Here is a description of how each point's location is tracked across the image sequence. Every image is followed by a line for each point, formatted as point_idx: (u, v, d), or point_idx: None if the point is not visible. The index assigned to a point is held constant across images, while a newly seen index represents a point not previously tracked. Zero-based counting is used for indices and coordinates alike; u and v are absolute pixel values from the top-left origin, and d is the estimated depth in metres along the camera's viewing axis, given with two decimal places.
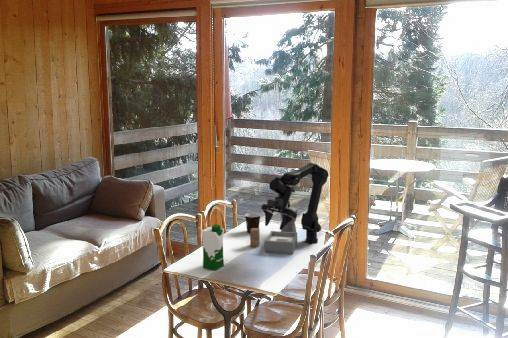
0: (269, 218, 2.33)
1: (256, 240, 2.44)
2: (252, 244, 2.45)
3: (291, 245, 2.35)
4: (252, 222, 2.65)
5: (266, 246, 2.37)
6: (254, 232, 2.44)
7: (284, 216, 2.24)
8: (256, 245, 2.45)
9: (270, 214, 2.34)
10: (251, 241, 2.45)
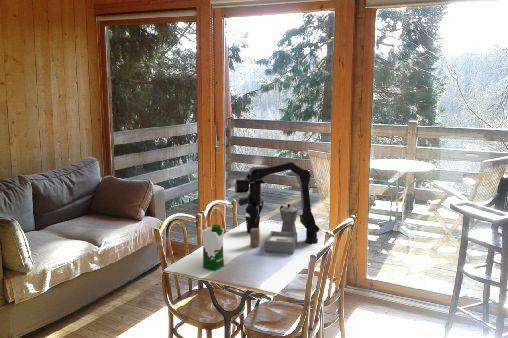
0: None
1: (256, 240, 2.44)
2: (252, 244, 2.45)
3: (291, 245, 2.35)
4: None
5: (266, 246, 2.37)
6: (254, 232, 2.44)
7: None
8: (256, 245, 2.45)
9: None
10: (251, 241, 2.45)
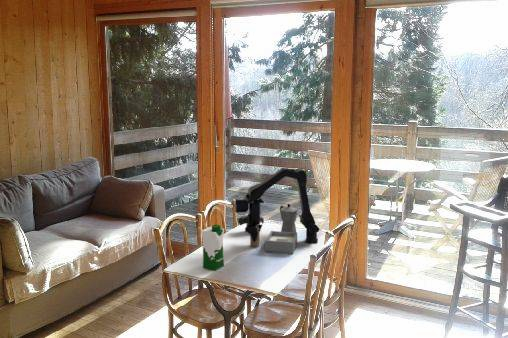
0: None
1: (256, 240, 2.44)
2: (252, 244, 2.45)
3: (291, 245, 2.35)
4: None
5: (266, 246, 2.37)
6: None
7: None
8: (256, 245, 2.45)
9: None
10: (251, 241, 2.45)
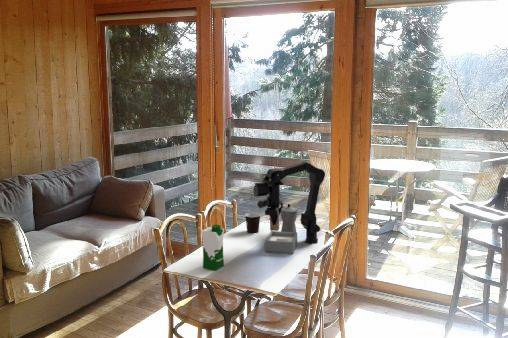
0: None
1: (276, 223, 2.41)
2: (272, 227, 2.42)
3: (291, 245, 2.35)
4: (252, 222, 2.65)
5: (266, 246, 2.37)
6: None
7: None
8: (276, 228, 2.41)
9: None
10: (271, 224, 2.42)
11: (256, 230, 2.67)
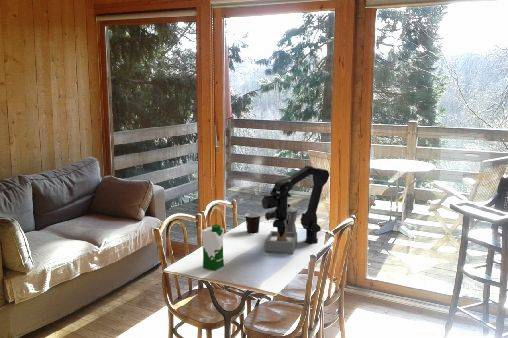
0: None
1: (283, 235, 2.41)
2: (279, 239, 2.42)
3: (291, 245, 2.35)
4: (252, 222, 2.65)
5: (266, 246, 2.37)
6: None
7: None
8: (283, 240, 2.41)
9: None
10: (278, 236, 2.42)
11: (256, 230, 2.67)
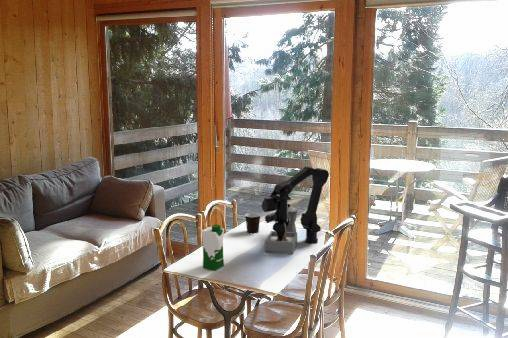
0: None
1: (283, 240, 2.41)
2: None
3: (291, 245, 2.35)
4: (252, 222, 2.65)
5: (266, 246, 2.37)
6: None
7: None
8: None
9: (284, 224, 2.47)
10: None
11: (256, 230, 2.67)
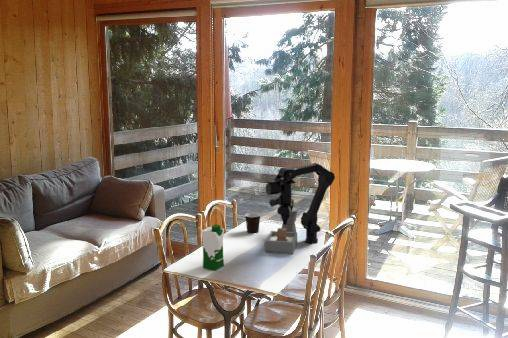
0: None
1: (283, 240, 2.41)
2: None
3: (291, 245, 2.35)
4: (252, 222, 2.65)
5: (266, 246, 2.37)
6: (281, 232, 2.41)
7: None
8: None
9: None
10: None
11: (256, 230, 2.67)
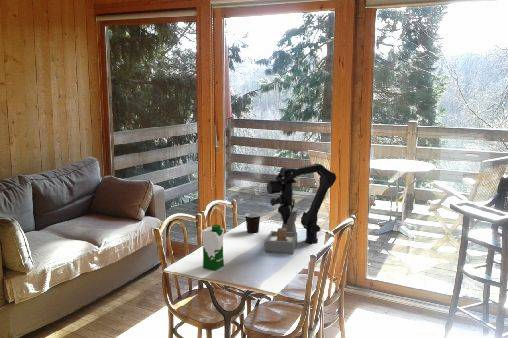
0: None
1: (283, 240, 2.41)
2: None
3: (291, 245, 2.35)
4: (252, 222, 2.65)
5: (266, 246, 2.37)
6: (281, 232, 2.41)
7: None
8: None
9: None
10: None
11: (256, 230, 2.67)
